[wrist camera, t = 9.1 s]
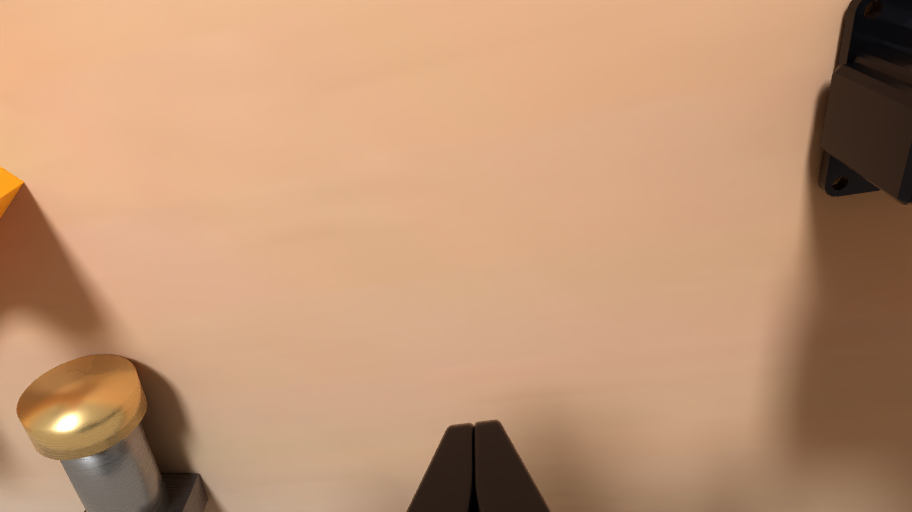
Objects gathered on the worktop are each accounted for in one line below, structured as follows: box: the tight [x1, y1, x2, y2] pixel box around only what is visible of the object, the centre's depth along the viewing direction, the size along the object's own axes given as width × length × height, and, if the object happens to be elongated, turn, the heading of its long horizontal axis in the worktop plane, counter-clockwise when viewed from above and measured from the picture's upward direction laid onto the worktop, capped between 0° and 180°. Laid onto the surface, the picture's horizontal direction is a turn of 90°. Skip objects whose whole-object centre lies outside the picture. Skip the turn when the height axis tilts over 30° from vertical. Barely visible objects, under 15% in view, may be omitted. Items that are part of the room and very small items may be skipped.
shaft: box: [17, 354, 208, 512], centre depth 25 cm, size 10×4×4 cm, turn 0°
